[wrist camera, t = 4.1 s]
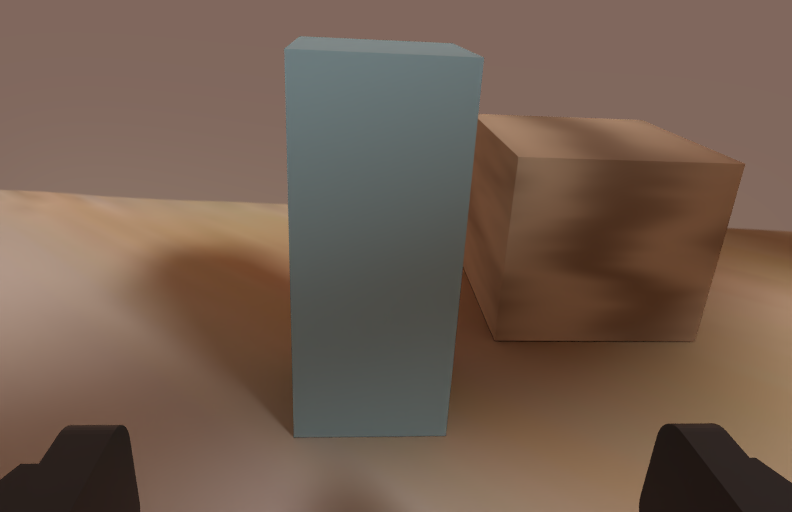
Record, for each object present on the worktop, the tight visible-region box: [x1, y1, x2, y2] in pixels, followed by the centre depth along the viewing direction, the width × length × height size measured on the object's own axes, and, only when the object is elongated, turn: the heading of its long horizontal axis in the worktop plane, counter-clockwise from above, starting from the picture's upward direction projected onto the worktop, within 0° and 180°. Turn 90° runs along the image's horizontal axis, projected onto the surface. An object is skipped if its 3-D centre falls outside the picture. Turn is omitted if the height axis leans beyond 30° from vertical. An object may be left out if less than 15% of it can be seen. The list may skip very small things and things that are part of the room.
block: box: [463, 114, 745, 341], centre depth 29 cm, size 9×9×8 cm
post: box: [284, 36, 484, 437], centre depth 20 cm, size 5×5×12 cm
